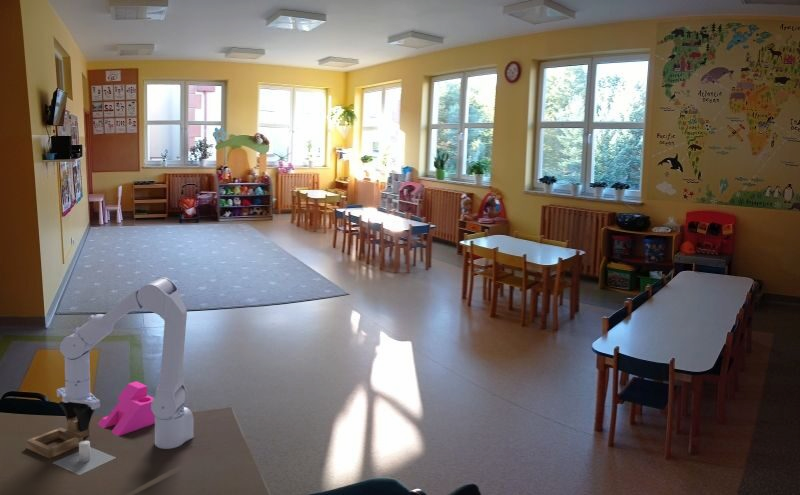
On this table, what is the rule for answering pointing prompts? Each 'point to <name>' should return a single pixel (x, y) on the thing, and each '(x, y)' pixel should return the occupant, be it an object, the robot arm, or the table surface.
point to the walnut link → (70, 437)
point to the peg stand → (84, 459)
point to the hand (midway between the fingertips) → (78, 428)
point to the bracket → (130, 410)
